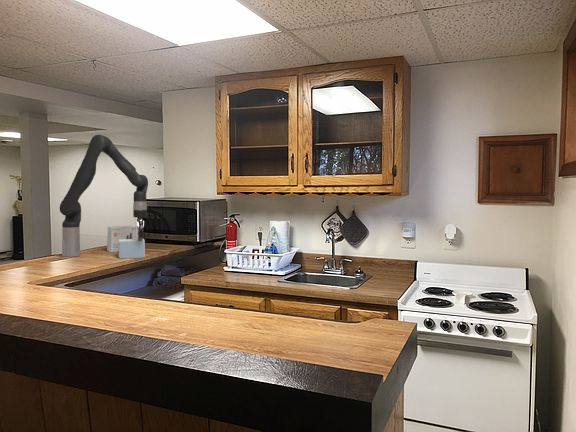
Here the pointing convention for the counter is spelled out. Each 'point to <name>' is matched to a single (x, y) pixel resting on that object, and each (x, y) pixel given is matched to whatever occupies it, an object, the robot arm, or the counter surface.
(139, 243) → the front flap
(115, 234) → the skincare box
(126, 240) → the carton
